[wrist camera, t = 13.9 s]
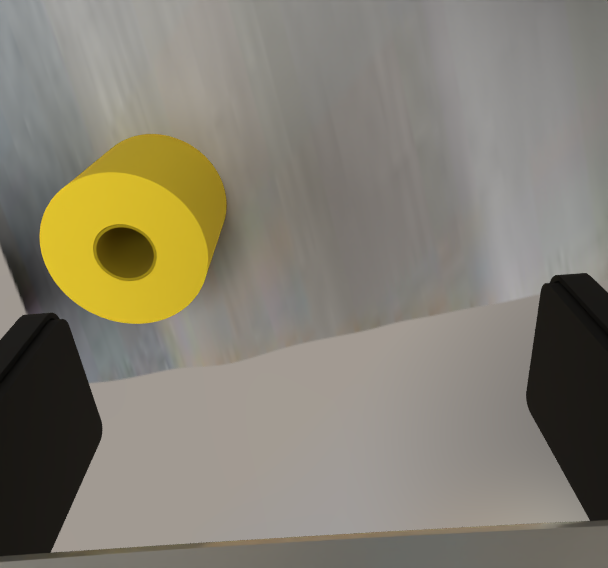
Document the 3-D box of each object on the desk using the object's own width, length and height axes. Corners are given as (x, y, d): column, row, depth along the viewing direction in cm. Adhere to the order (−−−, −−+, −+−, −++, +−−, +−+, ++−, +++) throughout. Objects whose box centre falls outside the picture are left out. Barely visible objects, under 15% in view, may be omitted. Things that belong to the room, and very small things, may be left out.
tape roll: (130, 275, 44) (91, 340, 36) (68, 159, 39) (6, 203, 31) (245, 239, 43) (232, 299, 34) (194, 115, 38) (165, 148, 30)
